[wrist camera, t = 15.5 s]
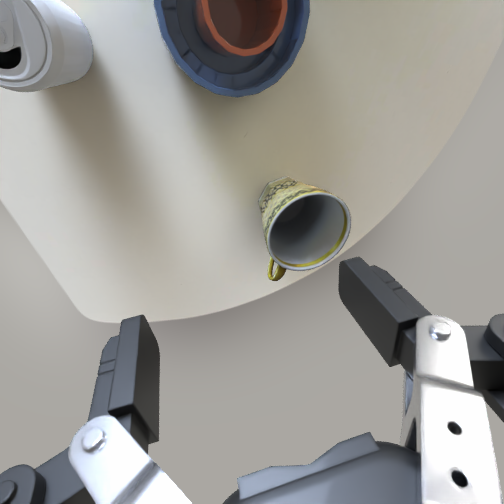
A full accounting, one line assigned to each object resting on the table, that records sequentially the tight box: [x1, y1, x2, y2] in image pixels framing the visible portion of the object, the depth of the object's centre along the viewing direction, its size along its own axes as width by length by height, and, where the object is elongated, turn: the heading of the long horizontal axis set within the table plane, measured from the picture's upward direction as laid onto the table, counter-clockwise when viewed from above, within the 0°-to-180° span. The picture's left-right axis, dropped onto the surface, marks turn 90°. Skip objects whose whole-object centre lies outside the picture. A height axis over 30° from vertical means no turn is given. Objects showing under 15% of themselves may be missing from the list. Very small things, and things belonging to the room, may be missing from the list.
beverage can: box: [0, 0, 93, 92], centre depth 23 cm, size 6×6×12 cm
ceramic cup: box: [258, 176, 351, 281], centre depth 38 cm, size 13×10×10 cm
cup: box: [193, 0, 288, 56], centre depth 26 cm, size 6×6×8 cm
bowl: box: [154, 0, 310, 97], centre depth 27 cm, size 13×13×5 cm
